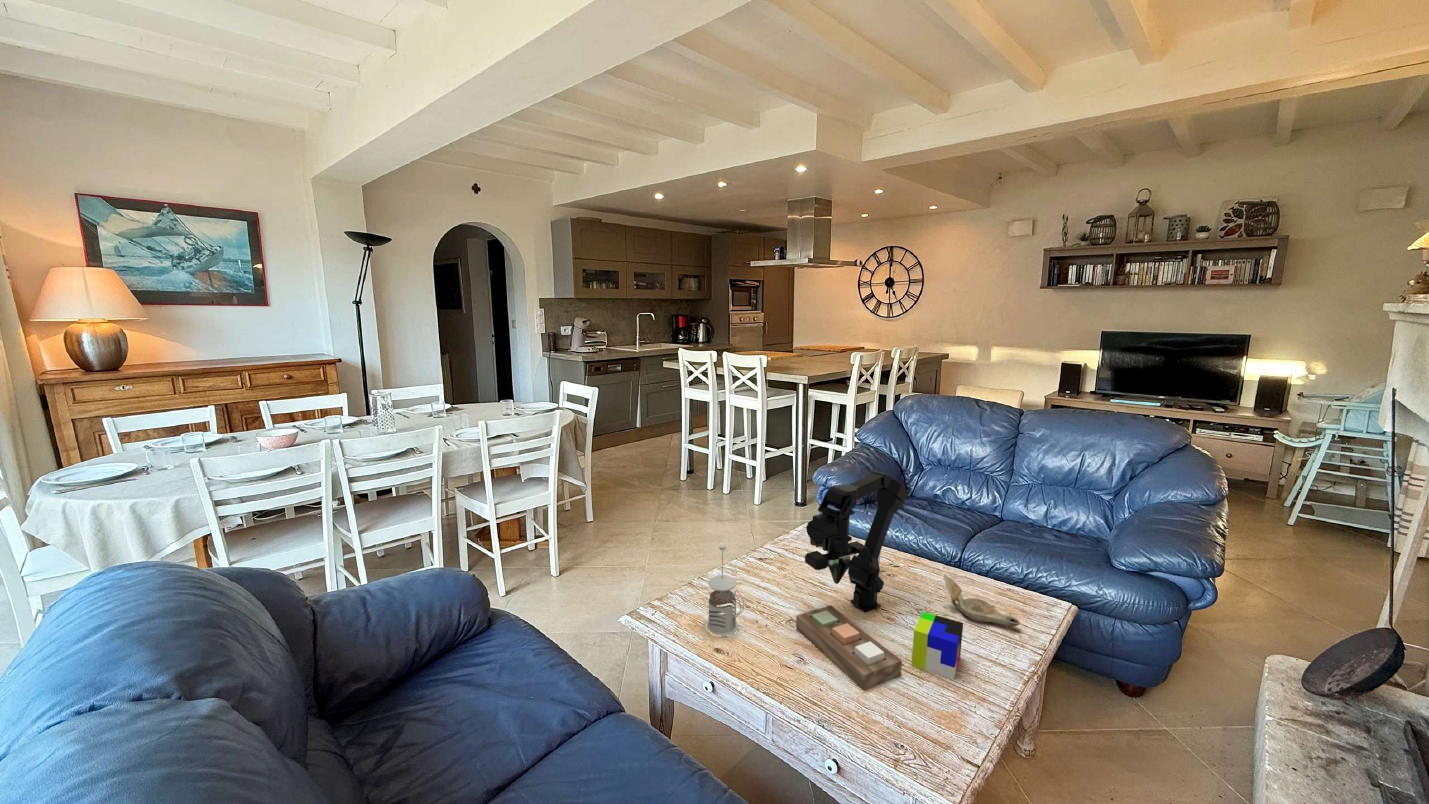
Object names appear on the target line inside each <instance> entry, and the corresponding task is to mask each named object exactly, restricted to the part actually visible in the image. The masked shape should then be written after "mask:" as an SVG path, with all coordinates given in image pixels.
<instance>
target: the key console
mask: <svg viewBox="0 0 1429 804" xmlns="http://www.w3.org/2000/svg"><path fill="white" fill-rule="evenodd" d="M826 610H827V611H828V612H829V613H830V614H832V615H833V616H834V617H835V618H837V619H838V623H836V624H832V625H829V626H826V627H823V628H822V627H821V626H820V625H819V624H818V623H817V622H815V621H814V620H813V619H812V615H813V614H816V613H820V612H823V611H826ZM795 621H796V622H795V629H796V630H797V631H798V632H800V634H801V635H802V636H804V637H805V638H806V639H807V640H808V641H809V642H811V644H812V645H813V646H814V647H816V649H818V650H819V652H821V653H822V654H823V655H824V656H825V657H826V658H827V659H829V660H830V661H831V663H833V664H834V665H835V666H836V667H837V668H838V669H840V670H841V671H842V672H843V673H844V674H845V675H846V676H848V678H849V679H851V680H852V681H853V683H854V684H856V685H857V686H858V687H859V688H860V689H861V690H862V691H864V690H867V689H869V688H872V687H874V686H877V685H880V684H882V683H885V682H887V681H890V680H893V679H895V678H897V677H900V676H902V667H903V664H902V663H903V661H902V659H900V658H899V657H898V656H896V655H895V654H894V653H893V652H891V651H890V650H889V649H887V648H886V646H884V645H882V644H881V643H880V642H879V641H877V640H876V639H874V637H872V636H871V635H870V634H869V633H867V632H865V630H863V629H862V628H861V627H859V626H858V625H856V623H854V622H853V621H852V620H850V619H849V618H848V617H847V616H845V615H844V614H843V613H841V612H840V611H839V609H836V608H835V607H834V606H832V605H827V606H824V607H821V608H817V609H814V610H810V611H807V612H803V613H801V614H797V615H796V620H795ZM846 623H848V624H849V625H850V626H852V627H853V628H854V629H855V630H857V631H858V632H859V633H860V639H859V641H857V642H854V643H851V644H848V645H845V646H843V645H842V644H841V643H840V642H839V641H838V640H836V639H835V638H834V637H833V636H832V628H834V627H837V626H840V625H843V624H846ZM870 641H871V642H872V643H873V644H874V645H876V646H877V647H878V648H879V649H881V650H882V651H883V652H884V661H881V662H879V663H876V664H873V665H871V666H867V665H866V664H865V663H863V662H862V661H861V660H860V659H859V658H857V657H856V656H855V655H854V654H855V646H858V645H861V644H864V643H867V642H870Z"/></svg>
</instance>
